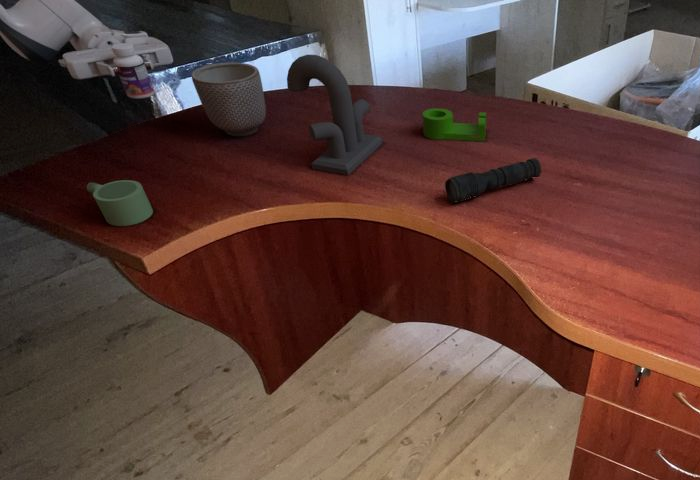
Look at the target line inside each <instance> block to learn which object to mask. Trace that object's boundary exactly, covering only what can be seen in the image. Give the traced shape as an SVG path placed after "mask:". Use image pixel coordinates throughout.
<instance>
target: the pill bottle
mask: <svg viewBox="0 0 700 480" xmlns="http://www.w3.org/2000/svg"><path fill="white" fill-rule="evenodd" d="M111 48H112V51H113V53H114V55H116V57H115V58H114V60H113V62H114V65H115V66H117V68H118V72H119V73H120V75H118V76H119V80H120V82H121V84H122V87H123V89H124V91H125V94H126V95H127V97H128V98H131V99H135V100H138V99H139V100H141V99H147V98H150V97H153V96H154V95H155V92H156V91H155V89H154V86H153V82H152V81H151V78H150V75H149V72H148V70H146V67H145V64H144V62H143V59H142V58H141V57H140V56H138V55H136V54H135V53H136V51H135V49H134V46H133V45H132V44H130V43H119V44H114V45H112V46H111Z"/></svg>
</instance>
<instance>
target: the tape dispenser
mask: <svg viewBox="0 0 700 480" xmlns="http://www.w3.org/2000/svg"><path fill="white" fill-rule="evenodd" d="M477 122H478V123H464V122H454V114H453V112H452V111H451V110H449V109H446V108H440V107H439V108H437V107H436V108H428V109H426V110H424V111H422V129H423V130H422V132H423V135H424V136H425V137H426V138H428V139H431V140H437V141H438V140H450V141H451V140H452V141H468V142H470V141H472V142H485V141H486V131H487V112H483V111H482V112H481V111H480V112H478V121H477ZM485 129H486V130H485ZM450 135H451V136H450ZM452 135H453V136H452ZM470 136H480V137H470Z"/></svg>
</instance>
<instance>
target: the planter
mask: <svg viewBox="0 0 700 480" xmlns="http://www.w3.org/2000/svg"><path fill="white" fill-rule="evenodd" d="M191 81H192V85H193V86H194V88H195V91H196V93H197V96H198V98H199V102H200V103H201V105H202V108H203V110H204V112H205V114H206V116H207V118H208V119H209V121H210V123H211V124H212V125H214V127H216V128H217V129H220V130H221V131H224V132H225V133H226V135H228V136H231V137H247V136H251V135H254V134H255V133H257V132H258V131H259V127H260V126H261V125H262V124H264V122H265V119H266V117H267V108H266V100H265V93H264V88H263V83H262V77H261V74H260V70H259V69H258V67H256V66H254V65H253V64H250V63H245V62H236V61H235V62H232V61H231V62H218V63H217V62H216V63H211V64H207V65H203V66H201V67H198V68H196V69H195V70H193V71H192V73H191Z"/></svg>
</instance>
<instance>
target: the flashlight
mask: <svg viewBox="0 0 700 480" xmlns="http://www.w3.org/2000/svg"><path fill="white" fill-rule="evenodd" d="M541 173H542V167H541V163H540V161H539V159H537V158H536V157H532V158H529V159H528V158H527V159H526V160H525V161H519V162H515V163H511V164H507V165H503V166H499V167H497V168H492V169H490V170H488V171H484V172H481V173H479V172H466V173H462V174H458V175H455V176H451V177H450V178H447V179H446V181H445V183H444V188H445V194H446V196H447V198H448V200H449V201H450V202H451V203H452V204H454V203H461V202H464V201H469V200H472V199H475V198H478V196H480V195H482V194H484V192H487V191H489V190H497V189H496V188H498V189H500V188H501V187H500V186H502V188H505V187H508V186H507V185H509V186H513V185H515V184H514V183H516V184H520V183H522V182H526V181H527V180H525V179H528V178H530V180H536V179H537V178H535V179H533V178H532V177H538V178H539V177H540V176H541ZM528 180H529V179H528ZM521 181H522V182H521ZM517 182H519V183H517ZM510 184H512V185H510ZM503 186H505V187H503ZM481 193H482V194H481ZM479 194H480V195H479ZM474 196H476V197H474ZM470 197H471V198H470ZM468 198H469V199H468ZM465 199H466V200H465ZM461 200H462V201H461ZM455 201H457V202H455Z"/></svg>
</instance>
